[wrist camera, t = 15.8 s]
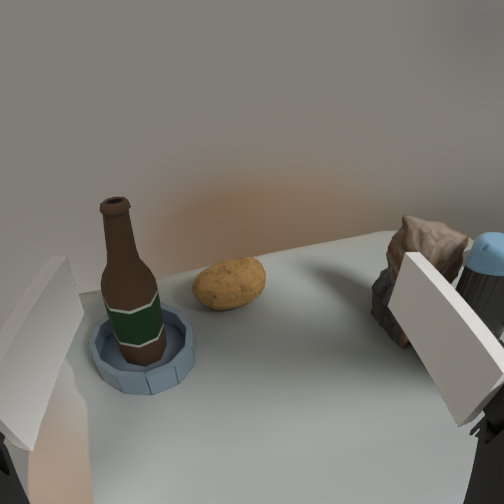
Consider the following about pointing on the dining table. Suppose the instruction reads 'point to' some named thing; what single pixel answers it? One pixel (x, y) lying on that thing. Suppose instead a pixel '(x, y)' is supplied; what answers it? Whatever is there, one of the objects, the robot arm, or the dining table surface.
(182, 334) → the bowl
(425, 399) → the dining table surface
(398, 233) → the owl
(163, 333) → the beer bottle
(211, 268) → the potato
